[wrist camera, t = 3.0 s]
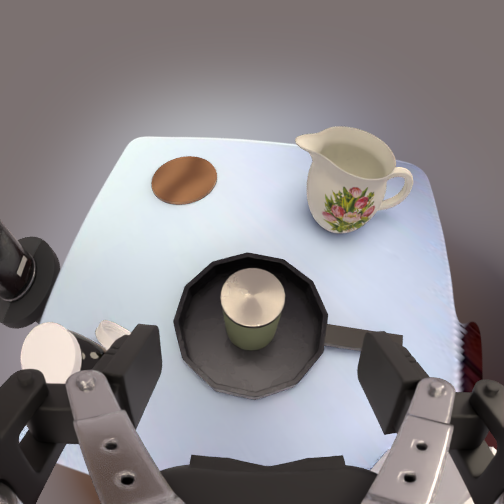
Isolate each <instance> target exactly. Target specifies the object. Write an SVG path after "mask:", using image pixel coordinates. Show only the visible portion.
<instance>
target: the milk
mask: <svg viewBox="0 0 504 504" xmlns="http://www.w3.org/2000/svg"><path fill="white" fill-rule="evenodd" d="M489 448H490V450H491V451H492V453H493V454H494V456H495V454H496V452H497V451H496V450H495V449H494V448H493V447H489ZM389 451H390V450H387V451H386V453H385V454H384V455H383V456H382V457H381V458H380V460H379V461H378V462H377V463H376V464H375V465H374V466H373V468H372V469H371V470H370V471H373V472H375V473H377V474H378V473H379V471H380V469H381V467H382V465H383V463H384V461H385V459H386V457H387V455H388V453H389ZM433 504H474V502H473V500H472V498H471V496H470V494H469V492H468V489H467V487H466V485H465V483H464V481H463V479H462V477H461V475H460V473H459V471H458V469H457V468H456V466H455V464H454V462H453V460H452V458H451V456H450V454H449V452H448V455H447V459H446V463H445V467H444V471H443V474H442V478H441V481H440V484H439V488H438V491H437V494H436V497H435V500H434V503H433Z"/></svg>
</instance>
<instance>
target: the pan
mask: <svg viewBox="0 0 504 504" xmlns="http://www.w3.org/2000/svg"><path fill="white" fill-rule="evenodd" d="M247 268H257V269H262V270H265V271H267V272H269V273H271V274H273V275H274V276H275V277H276V278H277V279H278V280H279V281H280V283H281V284H282V286H283V289H284V292H285V303H284V307H283V310H282V312H281V315H280V319H279V322H278V325H277V329H276V332H275V335H274V337H273V339H272V340H271V342H270V343H269V344H268V345H266V346H265V347H263V348H261V349H258V350H244V349H241V348H239V347H237V346H236V345H234V344H233V343H232V342H231V340H230V339H229V337H228V335H227V332H226V327H225V321H224V315H223V309H222V305H221V298H220V296H221V290H222V287H223V285H224V283H225V282H226V280H227V279H228V278H229V277H230V276H231V275H232V274H234V273H236V272H238V271H240V270H243V269H247ZM327 319H328V314H327V311H326V309H325V307H324V305H323V302H322V300H321V298H320V296H319V293H318V291H317V289H316V287H315V285H314V283H313V281H312V280H310V279H309V278H308V277H306V276H305V275H304V274H303V273H301V272H300V271H299V270H297V269H296V268H295V267H293V266H292V265H291V264H289V263H288V262H287V261H285V260H284V259H279V258H274V257H269V256H263V255H258V254H253V253H244V254H240V255H236V256H232V257H229V258H225V259H221V260H217V261H213V262H211V263H210V264H209V265H208V266H207V267H206V268H205V269H204V270H202V271H201V272H200V273H199V274H198V275H197V276H196V277H195V278H194V279H192V280H191V281H190V282H189V283H188V284H187V285H186V286H185V287H184V290H183V293H182V296H181V299H180V302H179V305H178V308H177V311H176V315H175V318H174V327H175V331H176V335H177V339H178V343H179V347H180V351H181V355H182V358H183V360H184V361H185V362H186V364H187V365H188V366H189V367H190V368H191V369H192V370H193V371H194V372H195V373H196V374H197V375H199V376H200V377H201V378H202V379H203V380H204V381H205V382H206V383H207V384H208V385H209V386H210V387H211V388H212V389H213V390H215V391H217V392H221V393H225V394H230V395H234V396H239V397H243V398H248V399H253V400H256V399H260V398H263V397H266V396H269V395H272V394H275V393H278V392H281V391H284V390H287V389H290V388H293V387H294V386H295V385H296V384H297V383H298V382H299V381H300V380H301V379H302V378H303V376H304V375H305V374H306V373H307V372H308V370H309V369H310V368H311V367H312V366H313V364H314V363H315V362H316V361H317V360H318V358H319V357H320V356H321V355H322V353H323V351H324V346H330V347H336V348H343V349H350V350H357V351H361V349H362V344H363V339H364V336H365V334H366V332H375V331H368V330H362V329H355V328H349V327H343V326H336V325H330V324H327ZM387 334H388V336H389V337H390V338H391V339H392V341H393V342H394V343H395V342H396V343H398V344H400V345H401V346H402V343H403V335H397V334H389V333H387Z"/></svg>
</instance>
